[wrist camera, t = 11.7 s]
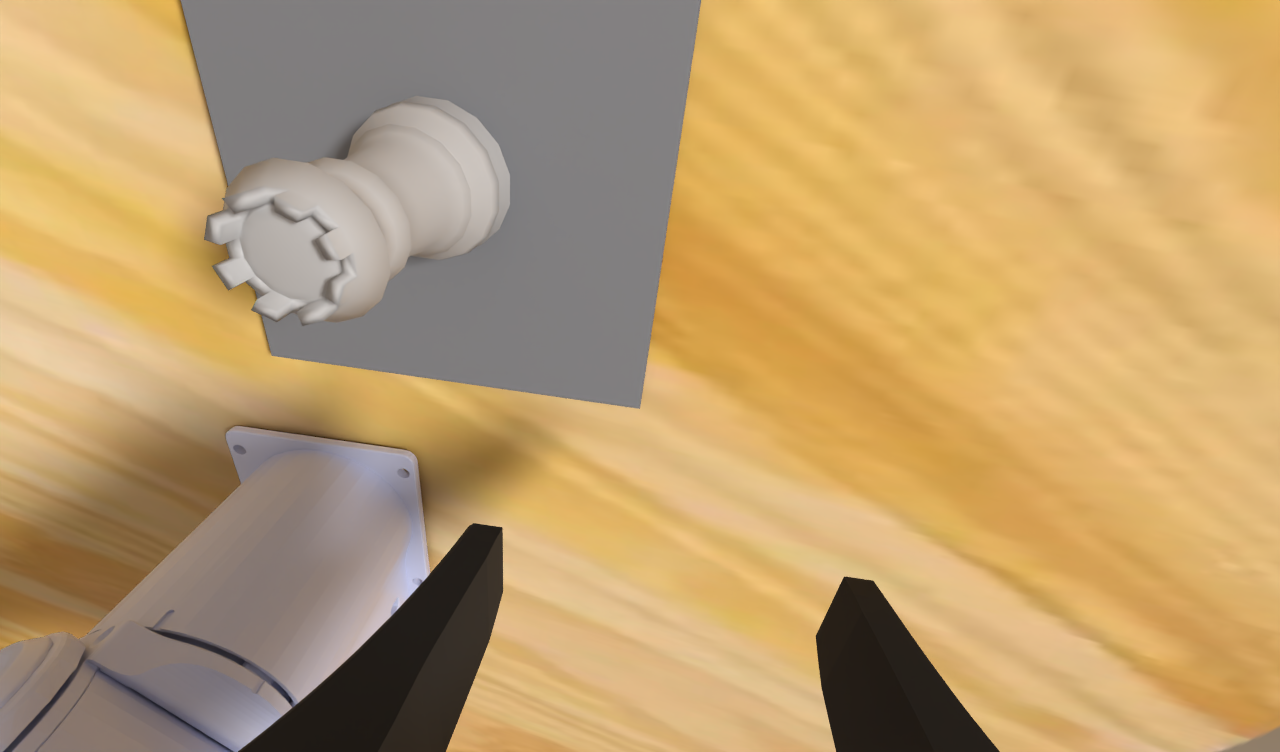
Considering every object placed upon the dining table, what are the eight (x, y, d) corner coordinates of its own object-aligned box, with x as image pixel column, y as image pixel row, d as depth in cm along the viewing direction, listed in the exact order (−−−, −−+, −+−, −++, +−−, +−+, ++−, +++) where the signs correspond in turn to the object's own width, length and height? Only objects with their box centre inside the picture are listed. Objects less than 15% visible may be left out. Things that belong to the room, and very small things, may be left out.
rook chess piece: (499, 88, 15) (350, 119, 9) (527, 244, 18) (426, 366, 11) (350, 100, 16) (94, 137, 9) (395, 250, 18) (218, 372, 11)
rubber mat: (641, 399, 21) (640, 408, 21) (281, 348, 21) (271, 355, 21) (709, -55, 14) (709, -58, 13) (164, -133, 14) (144, -141, 13)
